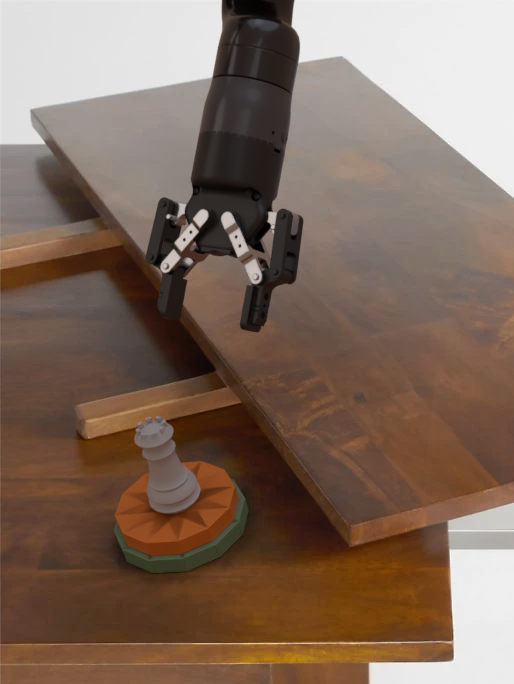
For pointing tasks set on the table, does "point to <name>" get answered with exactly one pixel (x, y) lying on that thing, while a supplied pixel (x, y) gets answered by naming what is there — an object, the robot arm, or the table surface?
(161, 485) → the grey chess rook
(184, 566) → the ring stack
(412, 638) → the table surface
